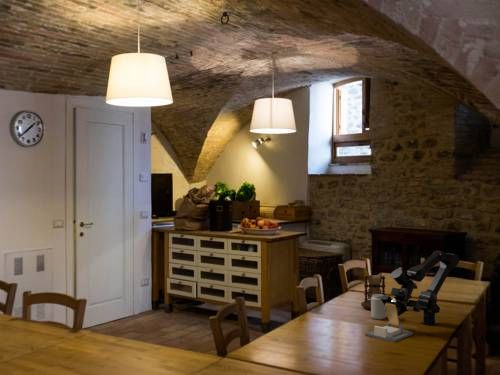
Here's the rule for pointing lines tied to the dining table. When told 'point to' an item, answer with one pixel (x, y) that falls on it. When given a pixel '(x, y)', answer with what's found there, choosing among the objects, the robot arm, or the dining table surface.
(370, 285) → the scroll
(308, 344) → the dining table surface
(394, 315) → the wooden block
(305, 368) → the dining table surface
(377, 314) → the can
